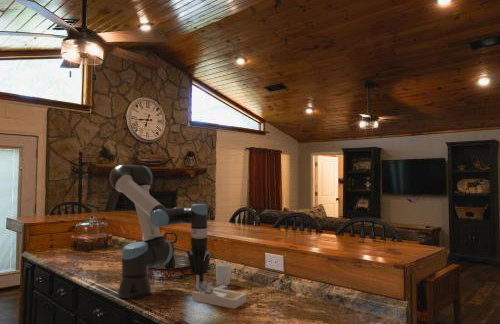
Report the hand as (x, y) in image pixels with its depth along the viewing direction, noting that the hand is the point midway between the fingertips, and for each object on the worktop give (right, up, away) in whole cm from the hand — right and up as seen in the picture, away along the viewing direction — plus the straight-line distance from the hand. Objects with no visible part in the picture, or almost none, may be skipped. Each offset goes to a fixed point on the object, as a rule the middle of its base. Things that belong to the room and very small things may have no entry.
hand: (199, 288), depth 174 cm
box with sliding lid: (+10, -4, -6) cm, 12 cm away
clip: (+3, -1, -2) cm, 4 cm away
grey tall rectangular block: (+9, -4, +7) cm, 12 cm away
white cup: (+10, -5, +21) cm, 23 cm away
